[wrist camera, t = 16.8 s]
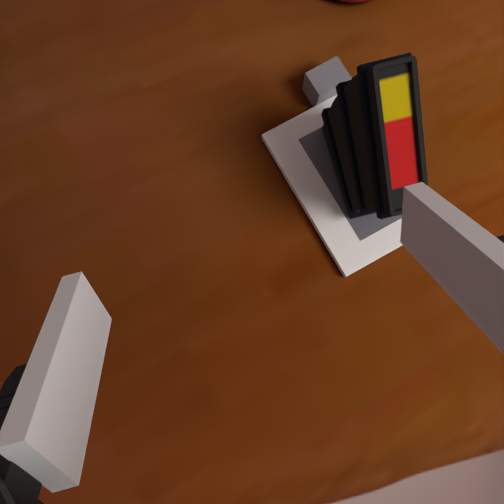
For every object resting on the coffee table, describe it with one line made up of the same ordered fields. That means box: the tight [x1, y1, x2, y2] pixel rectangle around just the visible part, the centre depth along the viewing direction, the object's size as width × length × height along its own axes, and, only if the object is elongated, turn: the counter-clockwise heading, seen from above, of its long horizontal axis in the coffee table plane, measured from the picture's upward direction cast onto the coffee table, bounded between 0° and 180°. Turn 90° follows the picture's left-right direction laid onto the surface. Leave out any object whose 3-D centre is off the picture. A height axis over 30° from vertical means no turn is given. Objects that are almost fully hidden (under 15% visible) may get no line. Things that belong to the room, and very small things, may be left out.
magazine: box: [321, 53, 428, 219], centre depth 33 cm, size 4×13×15 cm, turn 14°
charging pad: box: [262, 56, 403, 277], centre depth 39 cm, size 21×12×3 cm, turn 29°
